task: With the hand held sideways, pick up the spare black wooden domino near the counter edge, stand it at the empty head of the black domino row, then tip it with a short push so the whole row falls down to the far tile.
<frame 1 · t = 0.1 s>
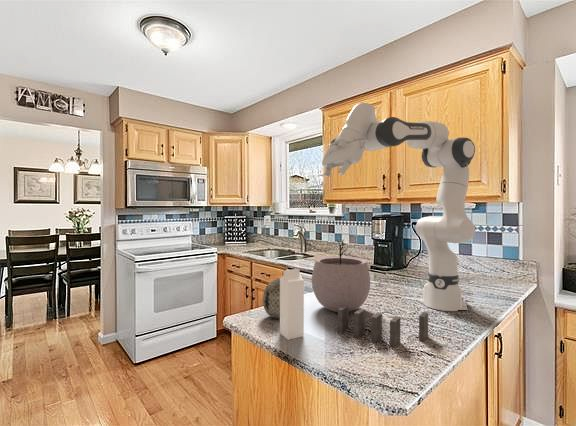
hand: (333, 175, 111), 54 cm above the countertop, tool tilted 30°, fingers open, 8 cm apart
domino 4: (359, 334, 105), on the countertop
domino 3: (376, 339, 102), on the countertop
domino 5: (343, 330, 109), on the countertop
domino 2: (395, 344, 98), on the countertop
plant pot: (340, 310, 131), on the countertop
decorative egg: (277, 318, 121), on the countertop
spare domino: (423, 338, 102), on the countertop
milk: (291, 335, 105), on the countertop
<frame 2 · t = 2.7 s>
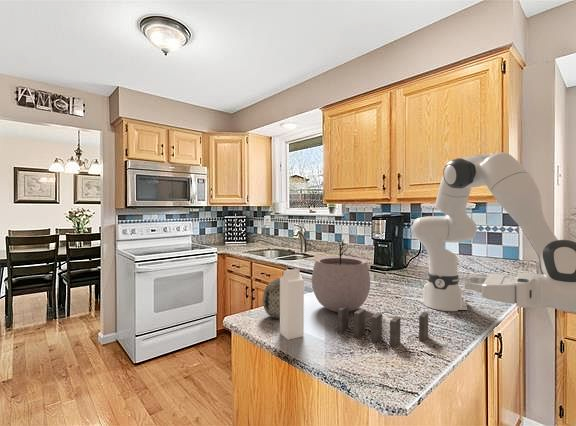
hand: (467, 282, 94), 20 cm above the countertop, tool horizontal, fingers open, 8 cm apart
nothing on the countertop moved.
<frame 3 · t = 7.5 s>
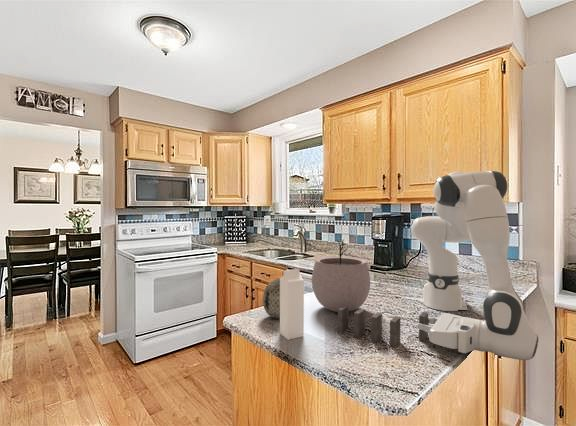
hand: (420, 322, 103), 5 cm above the countertop, tool horizontal, fingers closed on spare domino, 5 cm apart
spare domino: (423, 338, 102), on the countertop, touching gripper
everything else where it was.
when the fingers open (6 cm above the countertop, at t = 13.1 s): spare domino stays where it is, on the countertop.
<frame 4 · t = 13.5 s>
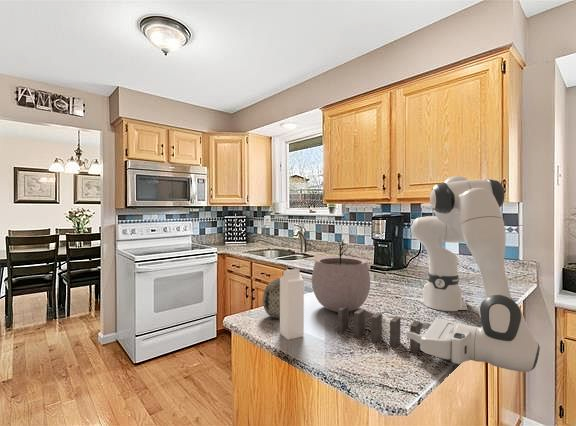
hand: (412, 329, 95), 6 cm above the countertop, tool horizontal, fingers open, 8 cm apart
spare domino: (415, 349, 94), on the countertop
everything else where it was.
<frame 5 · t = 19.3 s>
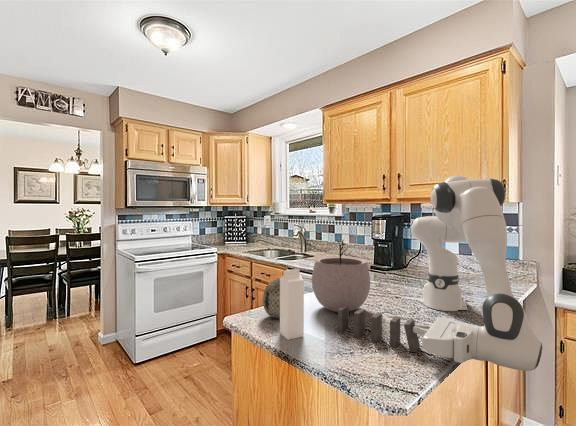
hand: (414, 328, 95), 6 cm above the countertop, tool horizontal, fingers closed
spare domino: (415, 349, 94), on the countertop, tilted 14°
everything else where it was.
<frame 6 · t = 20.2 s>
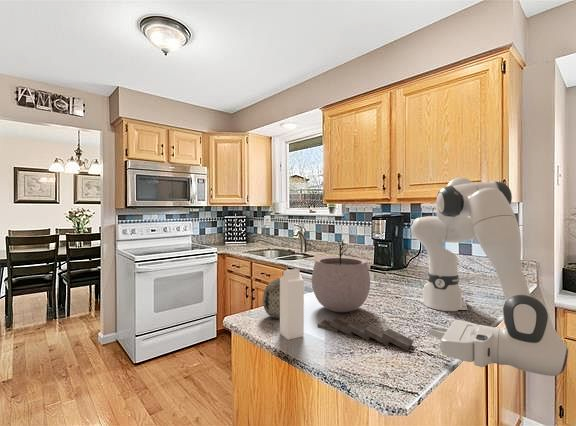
hand: (430, 330, 92), 7 cm above the countertop, tool horizontal, fingers closed
domino 4: (354, 331, 106), point 1 cm above the countertop, tilted 78°, touching domino 3
domino 3: (372, 335, 103), point 1 cm above the countertop, tilted 75°, touching domino 2, domino 4
domino 5: (340, 329, 109), on the countertop, tilted 90°
domino 2: (390, 340, 99), point 1 cm above the countertop, tilted 75°, touching domino 3, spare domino
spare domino: (410, 345, 95), point 1 cm above the countertop, tilted 75°, touching domino 2
everything else where it was.
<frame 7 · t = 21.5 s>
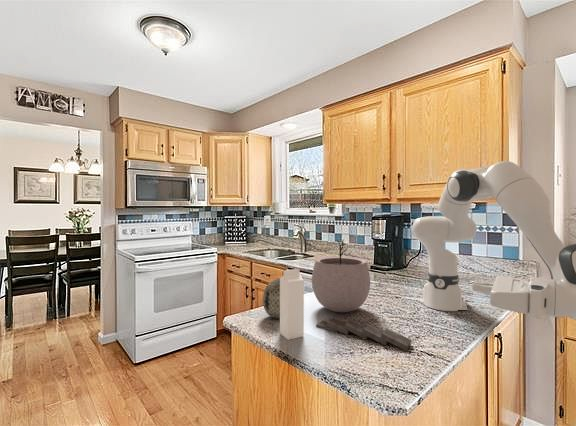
hand: (473, 286, 85), 22 cm above the countertop, tool horizontal, fingers closed
domino 4: (350, 330, 107), point 1 cm above the countertop, tilted 78°, touching domino 3, domino 5
domino 5: (339, 329, 110), on the countertop, tilted 90°, touching domino 4
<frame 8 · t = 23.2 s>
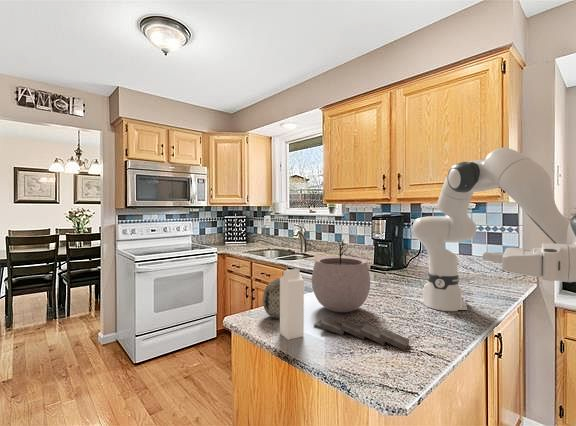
hand: (483, 256, 84), 30 cm above the countertop, tool horizontal, fingers closed
domino 4: (344, 330, 107), point 1 cm above the countertop, tilted 76°, touching domino 3
domino 3: (366, 334, 104), point 1 cm above the countertop, tilted 76°, touching domino 2, domino 4
domino 5: (337, 329, 110), on the countertop, tilted 90°
at the end: domino 5 tilted 90°; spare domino tilted 76°; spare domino inside the target area (1.4 cm from its centre), point 0.8 cm above the countertop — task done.
